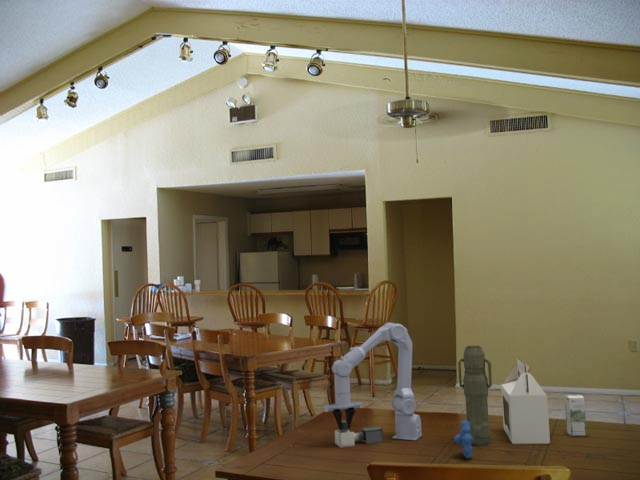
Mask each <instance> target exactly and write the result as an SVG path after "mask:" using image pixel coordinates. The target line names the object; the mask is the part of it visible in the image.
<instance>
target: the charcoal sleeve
mask: <svg viewBox="0 0 640 480" xmlns="http://www.w3.org/2000/svg"><path fill="white" fill-rule="evenodd" d="M361 432H363V433H364V440H361V441H362V442H364V443H365V444H366V445H367V444H369V445H370V444H376V443H383V442H384V440H383V439H384V438H383V437H384V435H383V428H382V427H380V426H379V425H377V426H376V425H375V426H368V427H361Z"/></svg>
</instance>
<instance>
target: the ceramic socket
mask: <svg viewBox="0 0 640 480" xmlns="http://www.w3.org/2000/svg"><path fill="white" fill-rule="evenodd" d="M350 429H351V428H350ZM350 429H348V430H346V433H342V430H339V429H335V430H334V443H335V445H337V446H338V447H339V448H348V447H355V445H356V443H355V442H356V441H354V433H355V432H354V431H350Z"/></svg>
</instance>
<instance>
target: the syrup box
mask: <svg viewBox="0 0 640 480" xmlns="http://www.w3.org/2000/svg"><path fill="white" fill-rule="evenodd" d="M585 401H586V399H585V397H584V396H583V395H581V394H564V405H565V422H566V425H565V426H566V433H567V435H569V436H570V437H587V436H588V435H587V422H586V421H587V420H586V419H587V418H586V402H585Z"/></svg>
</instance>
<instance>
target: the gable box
mask: <svg viewBox="0 0 640 480" xmlns="http://www.w3.org/2000/svg"><path fill="white" fill-rule="evenodd" d="M516 360H517V361H516V362H517V363H516V364H517V365H514V366H513V367H511V370H510V371H509V372H508V374H507V376H506V378H505V379H504V381H503V382H502V383H501V385H500V386H501V403H502V422H503V423H502V424H503V430H504V433H506V435H507V437H508V439H509V440H510V443H511V444H512V445H524V444H525V445H546V444H547V445H549V444H551V437H550V421H549V420H550V419H549V405H548V394H547V393H546V392H545V391H544V390H543V388H542V387H541V386H540V384H539V383H538V381H537V380H536V379H535V377H534V376H533V375H532V374H531V373H530V370H531V367H530V366H529V365H528V364H526V363H525V362H524V361H523V360H521V359H520V358H517V359H516Z"/></svg>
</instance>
